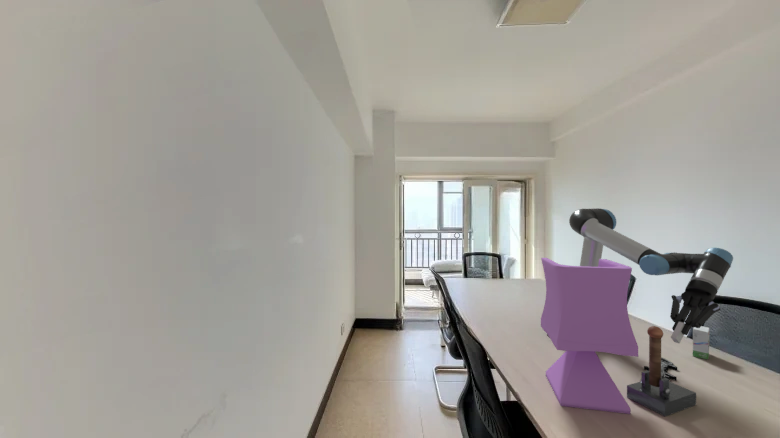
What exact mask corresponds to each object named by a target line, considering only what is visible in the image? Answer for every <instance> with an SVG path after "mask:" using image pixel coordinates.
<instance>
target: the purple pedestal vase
mask: <svg viewBox="0 0 780 438" xmlns="http://www.w3.org/2000/svg"><path fill="white" fill-rule="evenodd" d="M541 265H542V267H543V273H544V279H545V300H544V306H543V309H542V313H541V317H540V327H541V328H542V330H543V331H544V332H545V333H546V335H547V334H548V335H547V337H549V339H550V340H551V343H552V345H553V346H554V348H556V350H557V351H564V352H563V354H562V355H561V356H559V358H558V359H556V360H555V362H553V363H552V364H551V366H550V367H549V368H547V370H546V371H545V378H546V377H547V378H546V380H547V379H548V380H547V381H549V382H548V383H550V384H549V385H551V386H550V388H551V387H552V388H551V390H552V389H553V390H552V392H553V391H554V392H553V393H554V395H555V397H556V399H557V402H558V403H559V405H560V406H561V407H567V408H573V409H574V408H576V409H577V408H578V409H582V410H583V409H585V410H592V411H593V410H594V411H599V412H600V411H602V412H611V413H620V414H627V415H631V406H630V405H629V404H628V402H627V401H626V399H625V398H624V396H623V395H622V393H621V391H620V390H619V388H618V386H617V385H616V383H615V381H614V380H613V379H612V377H611V376H610V374H609V372H608V370H607V369H606V367H605V365H604V364H603V362H602V361H601V359H600V357H599V356H598V355H597V352H601V353H607V354H613V355H619V356H624V357H625V356H626V357H627V356H628V357H639V345H638V342H637V339H636V337H635V335H634V331H633V328H632V326H631V325H632V324H631V321H630V317H629V311H628V290H629V285H630V280H631V276H632V272H633V271H632V270H633V267H631V266H629V265H626V264H623V263H619V262H617V261H613V260H609V259H607V258H601V259H599V263H598V267H589V266H580V265H566V264H560V263H558V262H555V261H554V260H552V259H550V258H548V257H541Z"/></svg>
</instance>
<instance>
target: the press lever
mask: <svg viewBox="0 0 780 438" xmlns="http://www.w3.org/2000/svg"><path fill="white" fill-rule="evenodd" d="M646 332H647V334H648V337H649V338H648V340H649V342H648V343H649V344H648V367H649V384H650V385H652V386H655V387H660V379H661V357H662V338H663V337H664V332H663V330H662V328H660V327H658V326H656V325H652V326H649V327H648V328H647V331H646Z"/></svg>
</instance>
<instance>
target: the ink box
mask: <svg viewBox="0 0 780 438" xmlns="http://www.w3.org/2000/svg"><path fill="white" fill-rule="evenodd" d="M692 356H693V357H694V358H699V359H703V360H707V359H708V360H709V357H710V327H707V326H703V325H702V326H701V327H700V328H696V327H692Z"/></svg>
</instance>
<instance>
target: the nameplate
mask: <svg viewBox="0 0 780 438" xmlns="http://www.w3.org/2000/svg"><path fill="white" fill-rule="evenodd" d="M669 369H670V370H673V371H678V366H677V365H675V364H674V363H673V362H672V361H671V360H668V359H666V358H664V357H662V356H661V378H662V379H663V378H667V379H669V382H671V380H672V381H676V382H677V381H678V380H677V379H678V378H677V376H675V375H674V374H671V373H668V371H669ZM647 370H648V371H649V366H645V365H643V371H647Z"/></svg>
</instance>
